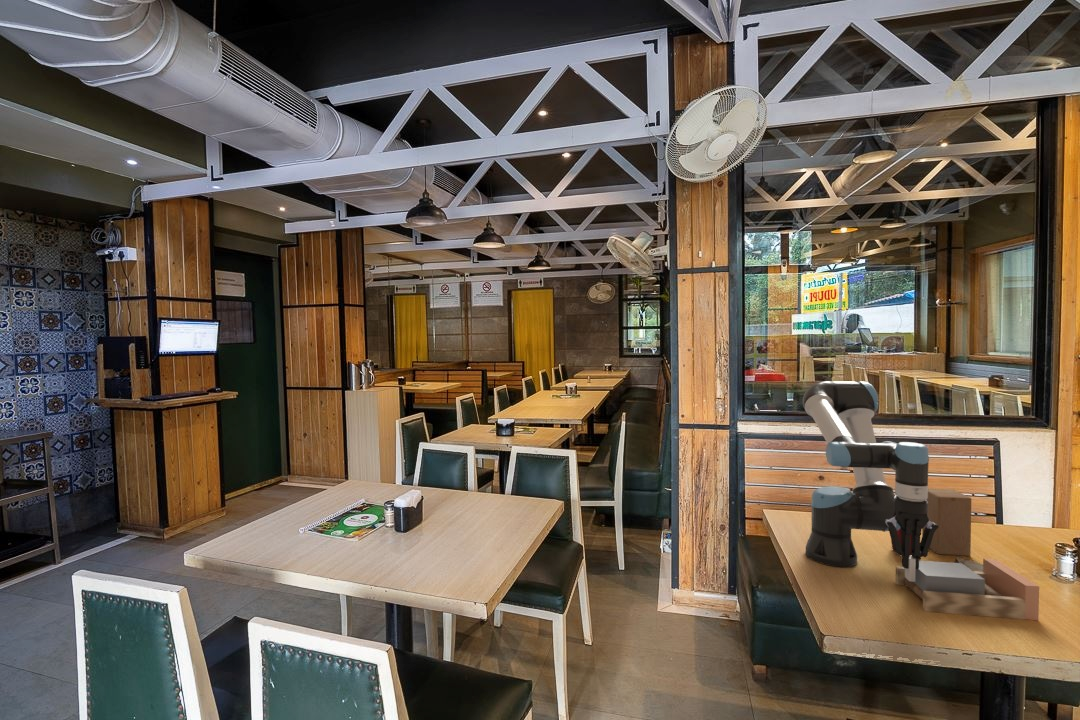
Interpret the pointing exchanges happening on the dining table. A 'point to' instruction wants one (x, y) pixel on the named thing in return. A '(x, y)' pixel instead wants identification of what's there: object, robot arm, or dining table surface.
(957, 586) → the slab
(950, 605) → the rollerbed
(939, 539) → the wooden block
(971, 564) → the stone
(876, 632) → the dining table surface
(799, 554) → the dining table surface
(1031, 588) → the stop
